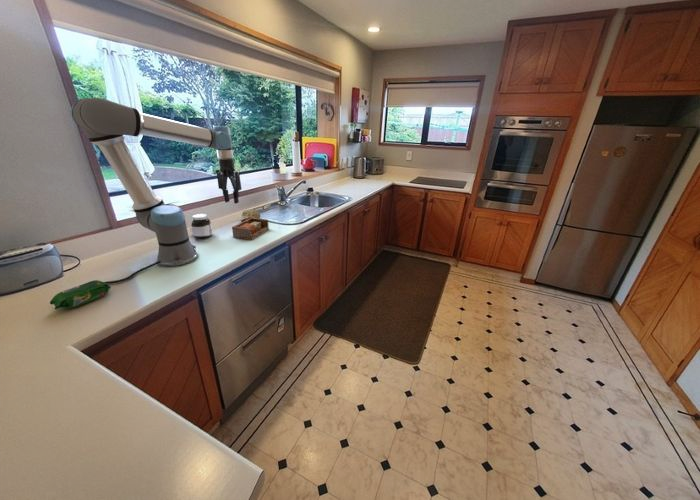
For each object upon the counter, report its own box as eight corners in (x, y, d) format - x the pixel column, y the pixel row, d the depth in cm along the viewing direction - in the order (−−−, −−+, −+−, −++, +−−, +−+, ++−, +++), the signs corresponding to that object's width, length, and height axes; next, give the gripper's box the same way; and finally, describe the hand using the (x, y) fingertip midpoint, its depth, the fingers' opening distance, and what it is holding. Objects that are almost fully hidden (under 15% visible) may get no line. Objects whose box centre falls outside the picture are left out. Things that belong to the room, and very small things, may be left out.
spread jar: (205, 240, 147) (202, 218, 143) (184, 239, 147) (180, 217, 143) (216, 232, 158) (213, 212, 154) (196, 231, 158) (192, 211, 154)
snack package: (48, 309, 90) (42, 296, 88) (105, 287, 103) (100, 275, 101) (59, 316, 87) (52, 303, 85) (116, 292, 100) (111, 280, 98)
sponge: (258, 228, 170) (265, 212, 186) (253, 217, 166) (261, 201, 182) (237, 231, 171) (246, 215, 187) (232, 220, 166) (242, 204, 183)
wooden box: (250, 240, 149) (249, 229, 147) (233, 237, 152) (231, 226, 150) (268, 229, 165) (268, 219, 163) (252, 227, 168) (251, 217, 166)
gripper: (245, 158, 146) (250, 202, 156) (216, 156, 151) (222, 199, 160) (236, 160, 140) (242, 205, 149) (205, 158, 144) (213, 202, 153)
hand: (231, 202), depth 154 cm, fingers open, 5 cm apart
